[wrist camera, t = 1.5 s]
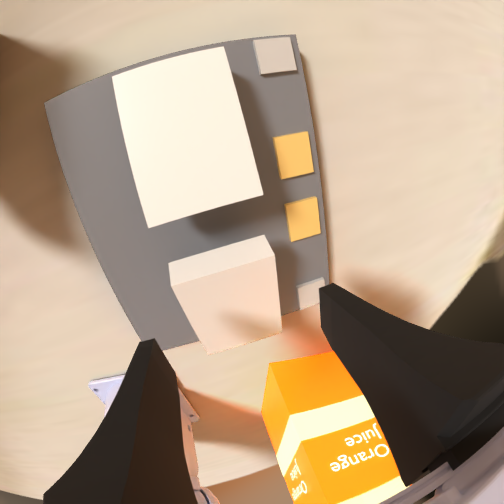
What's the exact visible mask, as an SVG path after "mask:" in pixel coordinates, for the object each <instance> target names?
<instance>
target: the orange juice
mask: <svg viewBox="0 0 504 504" xmlns="http://www.w3.org/2000/svg"><path fill="white" fill-rule="evenodd" d="M261 413H262V416H263V419H264V422H265V425H266V428H267V431H268V434H269V437H270V439H271V442H272V445H273V448H274V451H275V454H276V458H277V460H278V463H279V466H280V468H281V471H282V474H283V477H284V478H285V481H286V484H287V486H288V489H289V492H290V494H291V497H292V499H293V502H294V504H378V503H380V502H382V501H384V500H386V499H388V498H390V497H392V496H394V495H395V494H397V493H399V492H401V491H402V490H404V489H406V488H408V487H409V486H408V487H405V485H404V483H403V481H402V480H401V477H400V474H399V471H398V469H397V466H396V463H395V461H394V458H393V456H392V453H391V451H390V448H389V446H388V444H387V441H386V439H385V437H384V435H383V433H382V430H381V428H380V426H379V424H378V422H377V420H376V418H375V416H374V414H373V412H372V410H371V408H370V406H369V404H368V402H367V400H366V398H365V397H364V395H363V394H362V392H361V390H360V389H359V387H358V386H357V384H356V383H355V381H354V380H353V379H352V377H351V376H350V374H349V373H348V371H347V370H346V368H345V367H344V366H343V364H342V363H341V361H340V360H339V358H338V357H337V355H336V354H335V352H334V351H332V352H327V353H323V354H318V355H313V356H308V357H302V358H297V359H291V360H286V361H280V362H273V363H269V368H268V374H267V380H266V386H265V393H264V399H263V405H262V410H261ZM411 485H412V484H411ZM411 485H410V486H411Z"/></svg>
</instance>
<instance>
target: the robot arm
mask: <svg viewBox="0 0 504 504" xmlns="http://www.w3.org/2000/svg"><path fill="white" fill-rule="evenodd" d="M319 301H320V316H321V328H322V330H323V332H324V334H325V336H326V338H327V340H328V342H329V344H330V346H331V348H332V349H333V351H334V352H335V354H336V355H337V357H338V358H339V360H340V361H341V363H342V364H343V366H344V367H345V368H346V370H347V371H348V373H349V374H350V376H351V377H352V379H353V380H354V381H355V383H356V384H357V386H358V387H359V389H360V390H361V392H362V394H363V395H364V397H365V398H366V400H367V402H368V404H369V406H370V408H371V410H372V412H373V414H374V416H375V418H376V420H377V422H378V424H379V426H380V428H381V430H382V433H383V435H384V437H385V439H386V441H387V444H388V446H389V448H390V451H391V453H392V456H393V458H394V461H395V463H396V466H397V469H398V471H399V474H400V477H401V480H402V481H403V483H404V485H405V487H408V486H409V487H408V488H406V489H404V490H402V491H401V492H399V493H397V494H395V495H394V496H392V497H390V498H388V499H386V500H384V501H382V502H380V503H378V504H413V503H414V502H416V501H418V500H419V499H421V498H422V497H424V496H425V495H427V494H429V493H430V492H432V491H433V490H435V489H436V488H437V487H438V488H437V489H436V491H435V496H434V497H433V498H431V499H429V500H428V501H426V502H424V503H423V504H504V344H502V343H489V342H480V341H473V340H467V339H462V338H457V337H453V336H449V335H445V334H442V333H437V332H435V331H431V330H428V329H425V328H423V327H420V326H417V325H414V324H412V323H409V322H407V321H404V320H402V319H400V318H398V317H396V316H393V315H391V314H389V313H387V312H385V311H383V310H381V309H379V308H377V307H375V306H373V305H372V304H370V303H368V302H366V301H364V300H362V299H361V298H359V297H357V296H355V295H354V294H352V293H350V292H348V291H347V290H345V289H343V288H341V287H340V286H338V285H336V284H334V283H332V284H329V285H326V286H323V287H321V288H319ZM88 386H89V388H90V389H91V390H92V391H93V392H94V393H95V394H96V395H97V396H98V398H99V399H100V400H101V401H102V402H103V403H104V404H105V413H104V419H103V421H102V423H101V425H100V426H99V428H98V429H97V431H96V433H95V434H94V436H93V437H92V439H91V440H90V442H89V443H88V444H87V446H86V447H85V449H84V450H83V451H82V453H81V454H80V456H79V457H78V458H77V459H76V461H75V462H74V463H73V464H72V466H71V467H70V468H69V469H68V470H67V471H66V472H65V474H64V475H63V476H62V477H61V478H60V479H59V480H58V481H57V482H56V483H55V484H54V485H53V486H52V487H51V488H50V489H48V490H47V491H46V492H45V493H44V496H43V504H220V503H219V501H218V499H217V498H216V497H215V496H214V495H213V494H212V492H211V491H210V490H209V489H207V488H205V487H200V483H199V478H198V477H197V475H198V462H197V456H196V451H195V445H194V439H193V432H192V426H191V423H193V422H197V421H199V416H198V414H197V413H196V412H195V410H194V409H193V407H192V406H191V405H190V403H189V402H188V400H187V399H186V398H185V396H184V395H183V393H182V392H181V390H180V389H179V387H178V385H177V380H176V374H175V371H174V370H173V368H172V367H171V365H170V363H169V362H168V360H167V358H166V357H165V355H164V353H163V352H162V350H161V348H160V347H159V345H158V343H157V341H156V340H155V338H153V339H149V340H146V341H142V342H139V344H138V347H137V349H136V351H135V353H134V356H133V358H132V360H131V363H130V365H129V367H128V370H127V372H126V374H124V375H120V376H115V377H109V378H104V379H99V380H93V381H90V382H89V384H88ZM430 472H431V473H430ZM429 473H430V474H429ZM427 474H428V475H427ZM426 475H427V476H426ZM424 476H425V477H424ZM423 477H424V478H423ZM421 478H422V479H421ZM419 479H421V480H419ZM418 480H419V481H418ZM416 481H417V482H416ZM415 482H416V483H415ZM413 483H414V484H413ZM411 484H413V485H411ZM410 485H411V486H410Z"/></svg>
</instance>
